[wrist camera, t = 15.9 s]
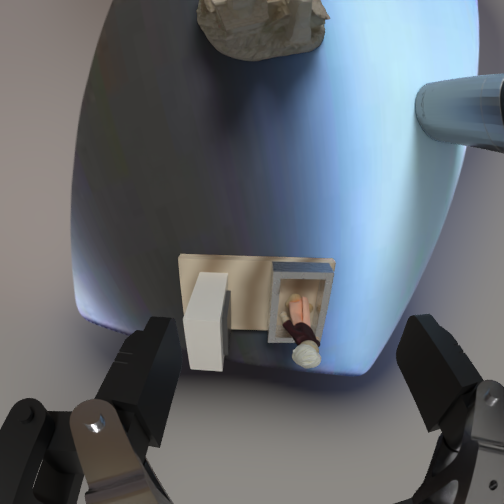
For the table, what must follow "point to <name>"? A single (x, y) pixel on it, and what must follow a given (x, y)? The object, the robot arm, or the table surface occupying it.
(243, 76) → the table surface
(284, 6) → the beige jagged towered block
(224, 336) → the white box with panel
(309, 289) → the cream base plate
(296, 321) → the grandmother figurine
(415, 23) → the table surface
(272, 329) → the slot walls
